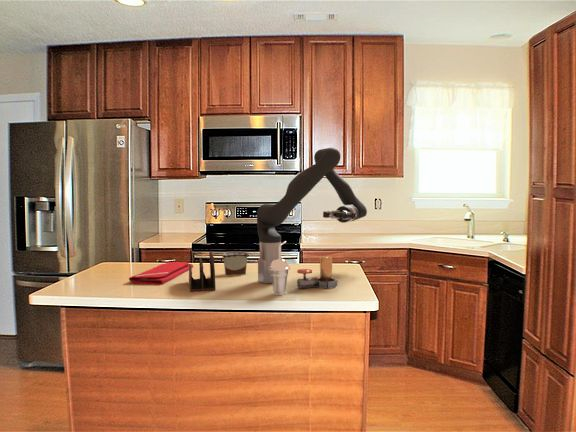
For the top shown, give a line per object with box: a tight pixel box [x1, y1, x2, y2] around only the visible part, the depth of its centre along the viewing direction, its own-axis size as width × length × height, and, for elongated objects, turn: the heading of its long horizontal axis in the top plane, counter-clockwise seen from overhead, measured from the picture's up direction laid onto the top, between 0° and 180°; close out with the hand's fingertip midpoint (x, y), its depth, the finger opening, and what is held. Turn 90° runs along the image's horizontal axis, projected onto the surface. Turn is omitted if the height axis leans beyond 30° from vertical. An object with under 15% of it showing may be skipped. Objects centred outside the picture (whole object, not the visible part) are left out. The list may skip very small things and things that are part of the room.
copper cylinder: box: [319, 255, 333, 282], centre depth 206 cm, size 5×5×12 cm
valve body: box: [296, 268, 338, 290], centre depth 204 cm, size 18×9×7 cm, turn 116°
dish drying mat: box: [128, 261, 194, 286], centre depth 230 cm, size 16×41×4 cm, turn 173°
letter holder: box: [188, 250, 217, 293], centre depth 205 cm, size 10×20×14 cm, turn 13°
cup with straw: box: [268, 240, 291, 296], centre depth 192 cm, size 8×9×20 cm
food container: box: [222, 251, 249, 276], centre depth 232 cm, size 12×6×10 cm, turn 108°
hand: (334, 215), depth 214 cm, fingers open, 8 cm apart
